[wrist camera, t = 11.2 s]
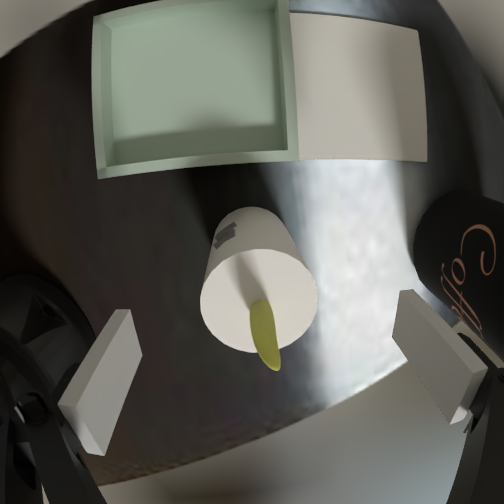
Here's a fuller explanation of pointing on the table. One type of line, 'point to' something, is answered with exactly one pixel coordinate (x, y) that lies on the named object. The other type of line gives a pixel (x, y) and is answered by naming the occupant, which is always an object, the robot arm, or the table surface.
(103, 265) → the table surface
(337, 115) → the board
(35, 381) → the robot arm
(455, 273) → the coffee jar
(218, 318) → the candle
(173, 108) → the mint green tray
